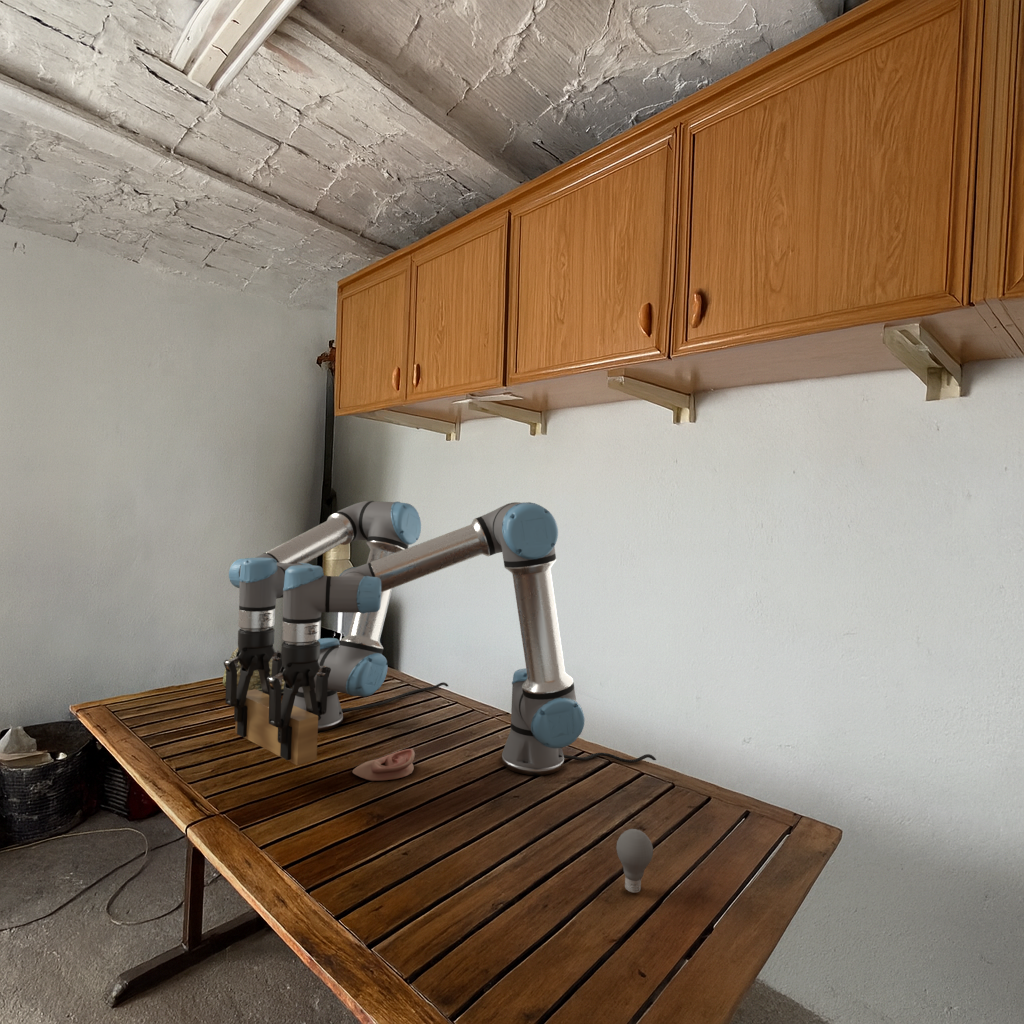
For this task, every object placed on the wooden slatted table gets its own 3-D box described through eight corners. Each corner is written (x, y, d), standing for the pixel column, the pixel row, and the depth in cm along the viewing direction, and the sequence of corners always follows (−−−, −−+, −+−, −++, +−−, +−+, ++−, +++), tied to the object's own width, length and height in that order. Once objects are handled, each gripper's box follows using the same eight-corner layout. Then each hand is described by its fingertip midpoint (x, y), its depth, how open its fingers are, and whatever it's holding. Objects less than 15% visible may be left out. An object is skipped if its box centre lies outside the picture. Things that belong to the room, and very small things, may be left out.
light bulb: (610, 879, 108) (613, 822, 108) (644, 879, 109) (647, 822, 109) (619, 902, 102) (622, 840, 102) (655, 901, 103) (658, 840, 103)
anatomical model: (346, 759, 143) (368, 741, 154) (346, 777, 143) (367, 757, 154) (402, 767, 140) (420, 748, 152) (401, 785, 140) (419, 764, 152)
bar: (234, 733, 141) (236, 693, 141) (253, 727, 145) (255, 689, 145) (297, 765, 126) (298, 721, 126) (316, 759, 130) (318, 715, 129)
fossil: (218, 695, 195) (220, 647, 195) (278, 685, 208) (279, 640, 207) (228, 703, 189) (230, 653, 188) (289, 692, 201) (290, 645, 201)
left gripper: (226, 636, 131) (222, 747, 132) (301, 625, 145) (297, 726, 145) (209, 630, 136) (205, 738, 136) (283, 620, 150) (279, 718, 150)
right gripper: (271, 651, 120) (267, 772, 121) (347, 638, 134) (343, 747, 135) (251, 644, 125) (246, 761, 126) (326, 632, 139) (322, 737, 139)
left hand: (252, 731), depth 141 cm, fingers closed on bar, 4 cm apart
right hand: (296, 753), depth 130 cm, fingers closed on bar, 4 cm apart
